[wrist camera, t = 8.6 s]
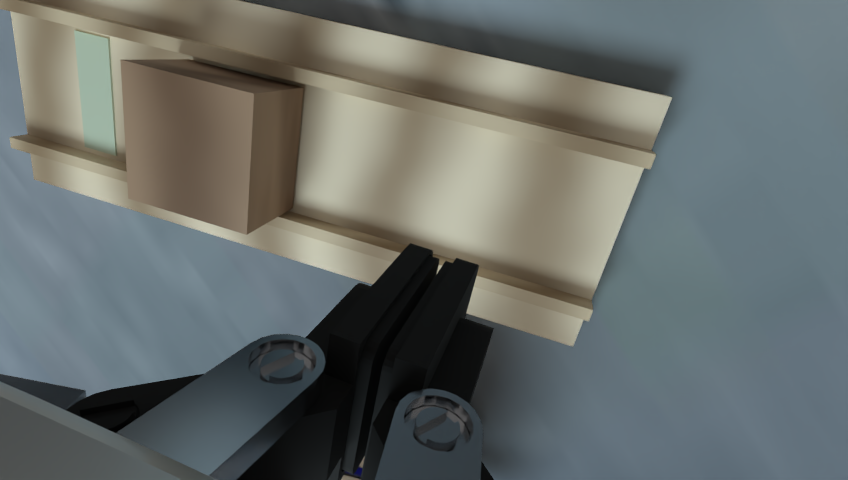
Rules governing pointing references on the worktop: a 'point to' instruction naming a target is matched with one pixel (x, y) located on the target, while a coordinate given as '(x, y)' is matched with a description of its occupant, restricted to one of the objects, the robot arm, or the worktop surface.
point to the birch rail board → (367, 144)
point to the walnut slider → (210, 141)
